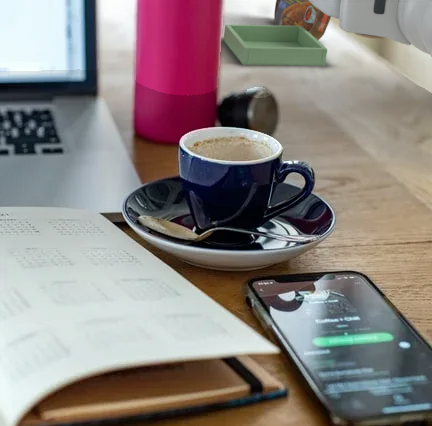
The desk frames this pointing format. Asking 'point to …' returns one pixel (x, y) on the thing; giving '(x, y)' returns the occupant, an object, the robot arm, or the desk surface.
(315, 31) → the tin
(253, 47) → the tray
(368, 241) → the desk surface
